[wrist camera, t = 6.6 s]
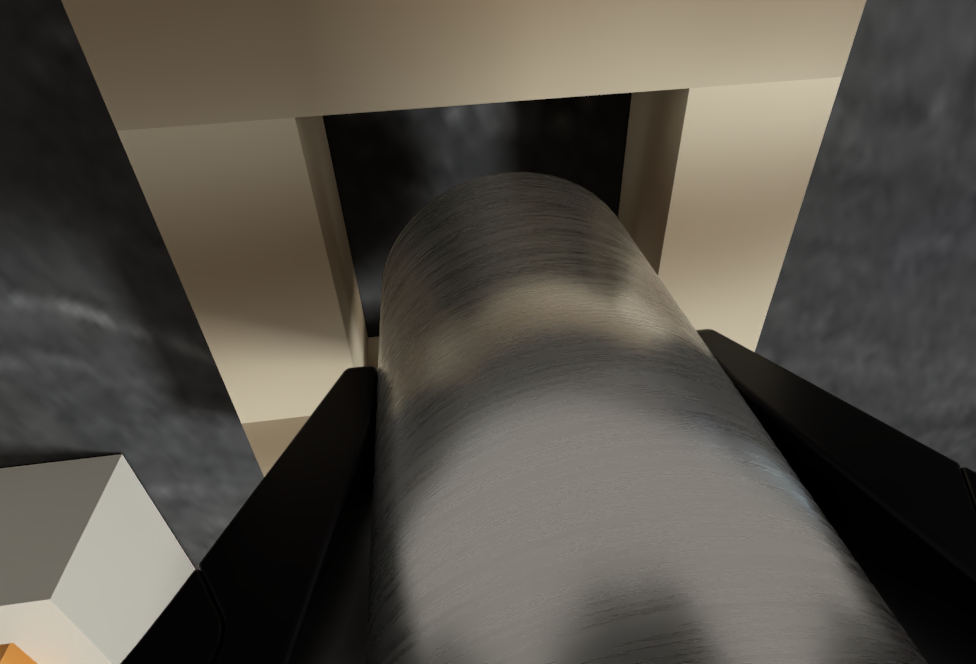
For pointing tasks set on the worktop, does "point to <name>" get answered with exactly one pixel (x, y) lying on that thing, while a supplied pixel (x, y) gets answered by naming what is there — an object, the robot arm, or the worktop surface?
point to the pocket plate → (437, 83)
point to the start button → (13, 655)
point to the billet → (582, 462)
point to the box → (82, 560)
